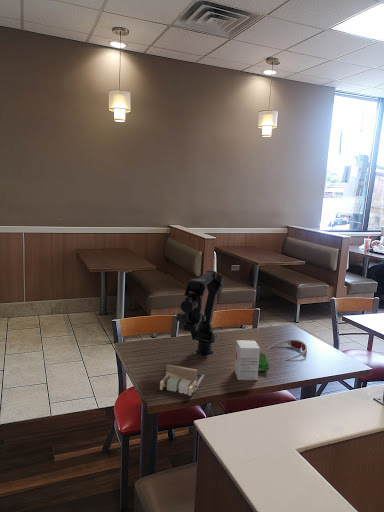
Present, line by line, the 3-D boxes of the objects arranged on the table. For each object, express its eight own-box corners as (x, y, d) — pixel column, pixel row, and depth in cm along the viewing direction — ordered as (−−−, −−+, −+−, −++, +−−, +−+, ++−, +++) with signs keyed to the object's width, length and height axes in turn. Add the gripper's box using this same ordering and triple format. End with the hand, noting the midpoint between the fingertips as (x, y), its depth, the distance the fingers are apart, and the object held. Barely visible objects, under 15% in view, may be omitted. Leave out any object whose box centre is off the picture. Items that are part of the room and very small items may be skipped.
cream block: (181, 388, 164) (182, 379, 164) (190, 389, 163) (191, 380, 163) (178, 392, 161) (178, 383, 160) (187, 394, 160) (188, 385, 159)
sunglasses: (314, 357, 202) (313, 348, 200) (286, 367, 196) (285, 357, 195) (293, 344, 217) (293, 336, 216) (266, 353, 212) (266, 344, 210)
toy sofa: (165, 381, 167) (166, 364, 166) (197, 387, 164) (198, 369, 162) (158, 390, 160) (159, 372, 159) (191, 396, 156) (192, 378, 155)
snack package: (252, 374, 180) (253, 363, 179) (250, 359, 195) (251, 349, 194) (268, 375, 180) (269, 365, 179) (264, 360, 195) (265, 350, 194)
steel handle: (176, 370, 180) (176, 369, 180) (204, 375, 176) (204, 374, 176) (164, 386, 165) (164, 385, 165) (194, 392, 161) (194, 391, 161)
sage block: (170, 385, 166) (170, 376, 165) (179, 387, 165) (179, 378, 164) (166, 390, 162) (167, 381, 161) (176, 392, 161) (176, 382, 160)
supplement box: (233, 370, 182) (235, 339, 180) (253, 371, 183) (255, 340, 180) (237, 380, 173) (240, 347, 171) (257, 380, 174) (260, 348, 171)
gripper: (184, 299, 193) (183, 330, 196) (172, 310, 176) (170, 344, 178) (207, 302, 190) (205, 333, 193) (196, 314, 173) (194, 348, 175)
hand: (193, 339), depth 185 cm, fingers closed
